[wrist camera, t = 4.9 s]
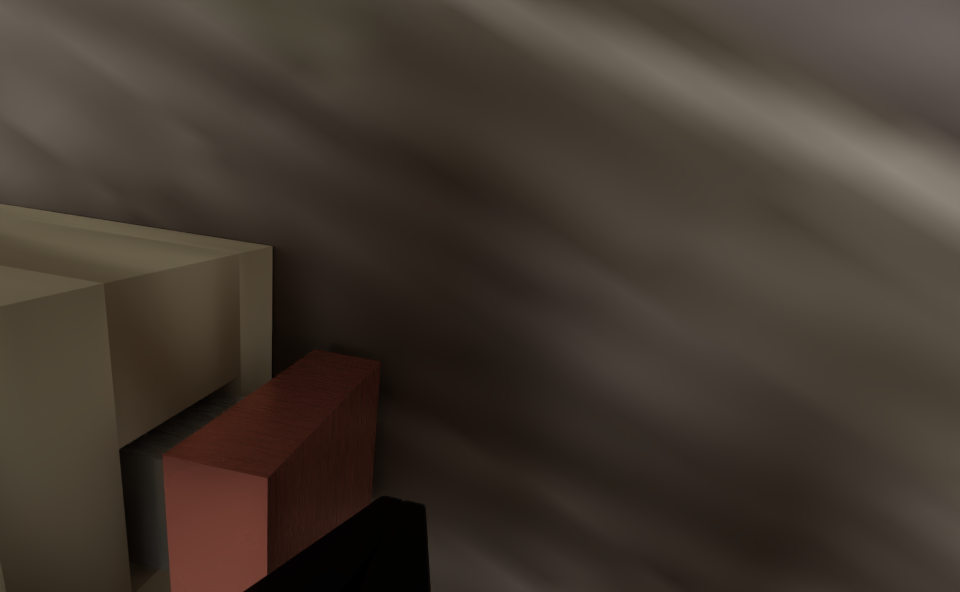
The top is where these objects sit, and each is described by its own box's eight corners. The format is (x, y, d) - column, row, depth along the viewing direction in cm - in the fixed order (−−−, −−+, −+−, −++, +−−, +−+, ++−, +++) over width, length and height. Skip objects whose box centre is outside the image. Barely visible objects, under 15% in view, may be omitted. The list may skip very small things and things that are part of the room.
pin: (369, 518, 11) (266, 705, 7) (-76, 417, 12) (-366, 525, 8) (381, 361, 10) (267, 477, 6) (-107, 272, 11) (-452, 318, 7)
